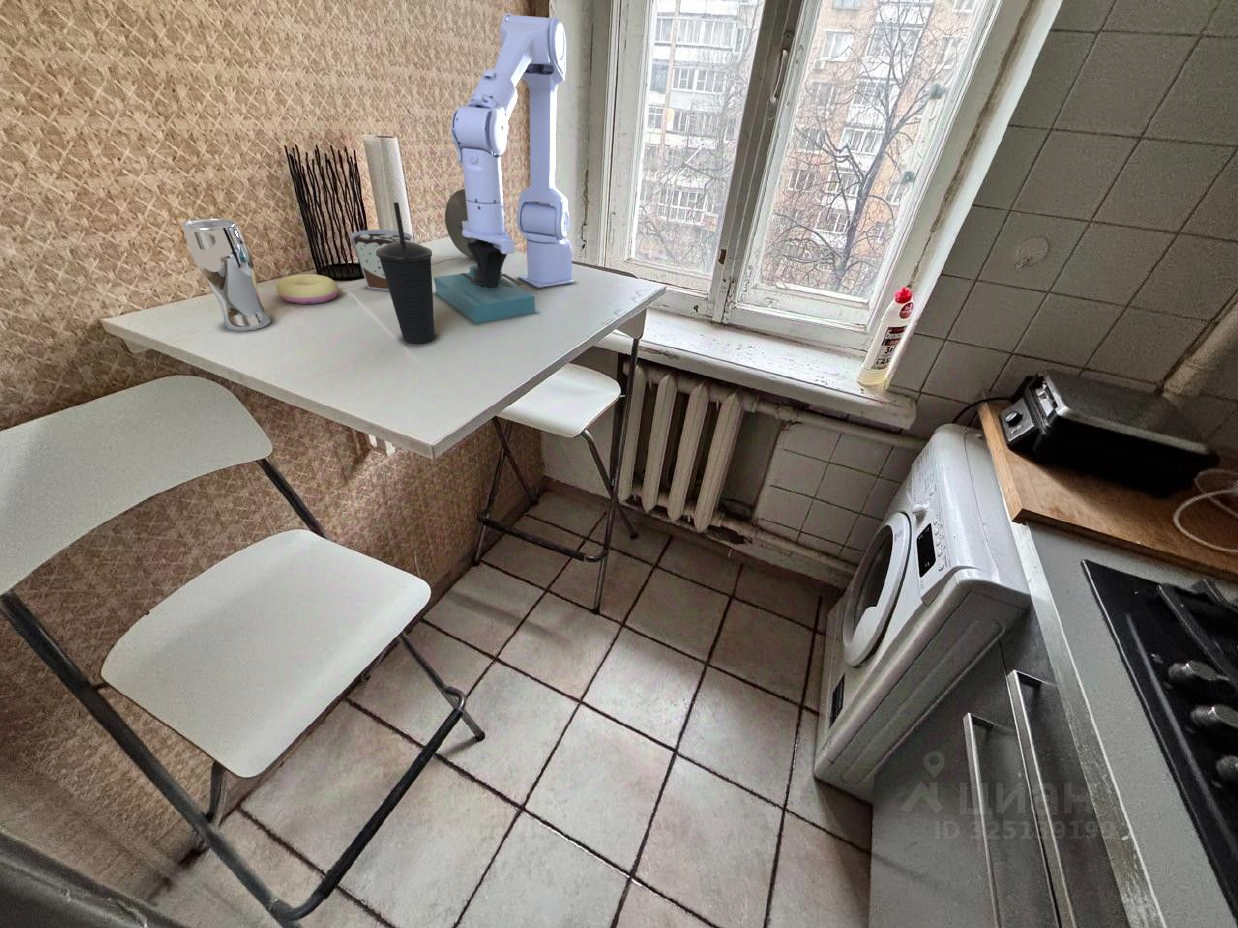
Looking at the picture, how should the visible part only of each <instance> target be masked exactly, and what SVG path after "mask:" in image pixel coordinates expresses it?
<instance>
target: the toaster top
mask: <svg viewBox="0 0 1238 928" xmlns="http://www.w3.org/2000/svg"><path fill="white" fill-rule="evenodd" d="M465 273H466V272H463V273H458V274H459V275H461V274H462V275H463V276H465V277H466V278H468V279H470V280H473V278H471V277H469V276H468V275H466V274H465ZM454 275H455V274H454ZM500 275H502V278H504V279H506V280H507V281H509V282H511V283H513V284H514V285H516V286H524V284H523V283H522V282H521V281H518V280H517V279H516V278H513V277H511V276H510V275H508V274H506V273H502V274H500ZM455 276H458V275H455ZM499 283H501V284H503V285H504V286H506V287H512V286H511V285H509V284H508V283H506V282H504V281H502V280H501V279H499ZM479 286H480V287H484V285H479Z"/></svg>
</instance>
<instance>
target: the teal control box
mask: <svg viewBox="0 0 1238 928" xmlns="http://www.w3.org/2000/svg"><path fill="white" fill-rule="evenodd" d="M473 268H477V264H474V265H472V266H470V267H469V272H464V273H465V274H466V275H468V276H469V277H471V278H473V279H474V273H473ZM459 274H461V273H456V274H448V275H440V276H439V275H438V276H434V277H433V279H434V280H433V281H434V286H435V293H436V294H437V295H438V296H439V297H441V298H442V299H443V300H444V301H446V302H448V304H450V305H451V306H453V307H454V308H456V309H457V310H458V311H459V312H461V313H462V314H464V316H466V317H467V318H469V319H471V321H473V322H474V323H476V324H479V323H485V322H491V321H496V320H502V319H507V318H512V317H518V316H523V315H529V314H536V313H535V312H536V308H535V307H536V305H535V304H536V303H535V295H533V294H532V293H530V292H528V291H526V290H524V289H523V288H521V287H519V285H517V284H515V283H513V282H512V281H510V280H508V279H507V278H505V277H503V276H502V275H500V279H501V280H502V281H504V282H506V283H508V284H509V285H511V286H512V287H506V286H504V285H503V284H501V283H499V285H498V287H497V288H490V289H487V288H486V287H480V286H479V285H477V286H476V285H474V284H473V283H471V280H470V279H468V278H466V277H465V276H463V275H462V274H461V275H459ZM501 274H503V268H502V269H501ZM455 275H458V276H455Z"/></svg>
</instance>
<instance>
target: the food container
mask: <svg viewBox="0 0 1238 928" xmlns="http://www.w3.org/2000/svg"><path fill="white" fill-rule="evenodd" d="M404 237H405V241H408V242H413V243H416V241H415V239H414V238H413V236H412V234H410V233H408V232H405V231H404ZM349 240H350V245H351V246H354V249H355V253H356V255H357V258H358V262H359V265H360V267H361V270H362V274H363V276H364V280H365V284H366V286H367V289H372V290H373V289H375V290H381V291H389V288H388V285H387V281H386V278H385V275H384V271H383V268H382V264H381V261H380V258H379V257H378V256H377V254H376V251H377V250H378V249H379V248H382V247H384V246H385V245H387V244H390V243H393V242H398V241H400V237H399V231H398V230H392V229H366V230H359V231H355V232H351V233H350V239H349Z"/></svg>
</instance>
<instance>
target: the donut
mask: <svg viewBox="0 0 1238 928" xmlns="http://www.w3.org/2000/svg"><path fill="white" fill-rule="evenodd" d="M275 287H276V288H275V289H276V292H277V295H278V296H279V297H281V299H283V300H284V301H287V302H290V303H293V304H301V305H314V304H321V303H322V304H323V303H326V302H329V301H331V300H334V298H336V297H337V296H338V293H339V286H338V283H337V282H336V281H335V280H333V279H332V278H330V277H328V276H325V275H321V274H315V273H313V274H312V273H305V274H303V273H302V274H294V275H290V276H285V277H283V278H281V279H280V280H279V281H278V282H277V283H276V286H275Z"/></svg>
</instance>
